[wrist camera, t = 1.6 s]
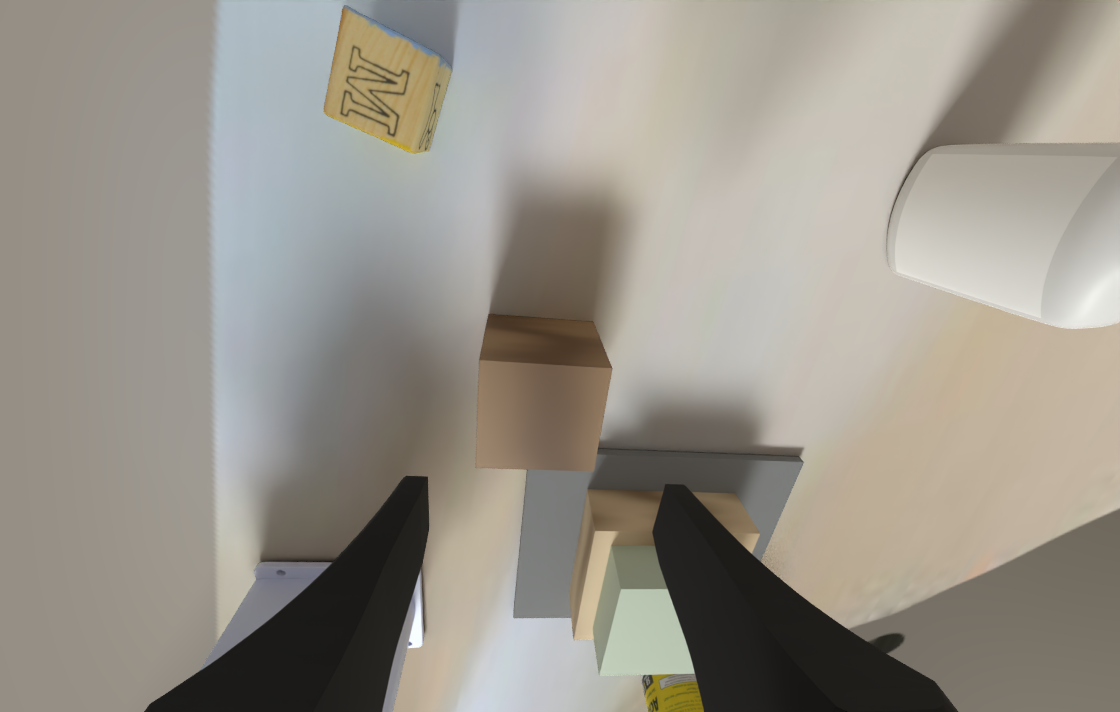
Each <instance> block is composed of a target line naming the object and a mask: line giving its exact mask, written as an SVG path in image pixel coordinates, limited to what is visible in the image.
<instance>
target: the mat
mask: <svg viewBox="0 0 1120 712" xmlns="http://www.w3.org/2000/svg"><path fill="white" fill-rule="evenodd" d="M803 463H804V462H803V461H802V459H801V458H800V457H795V456H770V455H744V454H719V453H693V452H667V451H642V450H616V449H598V451H597V456H596V462H595V467H594V472H589V471H558V470H527V476H526V487H525V497H524V508H523V518H522V529H521V539H520V549H519V560H518V570H517V581H516V591H515V602H514V616H513V618H571V609H570V600H569V590H570V584H571V578H572V573H573V567H574V561H575V556H576V550H577V544H578V539H579V533H580V527H581V521H582V516H583V510H584V504H585V499H586V493H587V489H597V490H633V491H664V487H665V484H683V485H685V486H686V487H687V488H688V489H689V490H690V491H691V492H705V493H735V494H736V495H737V497H738V499H739V500H740V502H741V503H742V505H743V507H744V508H745V510H746V512H747V513H748V515H749V516H750V518H751V520H752V521H753V523H754V525H755V526H756V528H757V529H758V531H759V533H760V535H759V538H758V540H757V542H756V545H755V547H754V550H753V552H752V554H753V555H754V556H755V557H756V558H757V559H758V560H759V561H761V559H762V557H763V554H764V552H765V550H766V547H767V545H768V543H769V541H770V538H771V536H772V534H773V531H774V529H775V527H776V525H777V522H778V520H779V518H780V516H781V513H782V511H783V509H784V506H785V504H786V502H787V500H788V497H789V495H790V493H791V491H792V488H793V486H794V484H795V481H796V479H797V477H798V475H799V472H800V470H801V468H802V465H803Z"/></svg>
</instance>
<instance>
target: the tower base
mask: <svg viewBox="0 0 1120 712" xmlns="http://www.w3.org/2000/svg"><path fill="white" fill-rule="evenodd" d="M692 493H693V494H694V495H695V496H696V497H697V498H698V500H699V501H700V502H701V503H702V504H703V505H704V506H705V507H706V508H707V509H708V510H709V511H710V512H711V513H712V514H713V516H714V517H715V518H716V519H717V520H718V521H719V522H720V523H721V524H722V525H723V526H724V527H725V528H726V529H727V530H728V531H729V532H730V533H731V534H732V535H733V536H734V537H735V538H736V539H737V540H738V541H739V542H740V543H741V544H742V545H743V546H744V547H745V548H746V549H747V550H748V551H749V552H750V553H752V552H753V550H754V547H755V545H756V542H757V540H758V538H759V535H760V533H759V531H758V529H757V528H756V526H755V525H754V523H753V521H752V520H751V518H750V516H749V515H748V513H747V512H746V510H745V508H744V507H743V505H742V503H741V502H740V500H739V499H738V497H737V495H736V494H735V493H705V492H692ZM662 494H663V491H633V490H597V489H587V493H586V499H585V504H584V510H583V516H582V521H581V527H580V533H579V539H578V544H577V550H576V556H575V561H574V567H573V573H572V578H571V584H570V590H569V600H570V609H571V619H572V629H573V638H574V640H594V637H593V630H592V629H593V625H594V620H595V616H596V611H597V607H598V602H599V598H600V593H601V589H602V584H603V580H604V575H605V571H606V566H607V562H608V557H609V553H610V548H611V545H632V546H655V543H654V538H653V534H652V531H653V527H654V523H655V520H656V516H657V512H658V509H659V505H660V502H661V498H662Z"/></svg>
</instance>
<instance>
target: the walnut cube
mask: <svg viewBox="0 0 1120 712" xmlns="http://www.w3.org/2000/svg"><path fill="white" fill-rule="evenodd" d="M611 373H612V366H611V364H610V362H609V359H608V357H607V354H606V352H605V349H604V347H603V344H602V342H601V340H600V337H599V335H598V332H597V330H596V327H595V325H594V323H593V322H590V321H576V320H563V319H550V318H536V317H523V316H509V315H496V314H488V319H487V324H486V329H485V334H484V339H483V344H482V349H481V354H480V358H479V380H478V412H477V444H476V468H497V469H527V470H558V471H589V472H594V467H595V462H596V456H597V451H598V445H599V440H600V434H601V429H602V423H603V418H604V412H605V406H606V401H607V395H608V390H609V384H610V379H611Z"/></svg>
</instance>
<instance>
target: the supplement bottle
mask: <svg viewBox="0 0 1120 712" xmlns="http://www.w3.org/2000/svg"><path fill="white" fill-rule="evenodd" d="M641 680H642V685H643V690H644V695H645V699H646V704H647V709H648V712H704V709H703V705H702V700H701V696H700V692H699V688H698V684H697V680H696V676H695V674H659V675H641Z"/></svg>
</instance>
